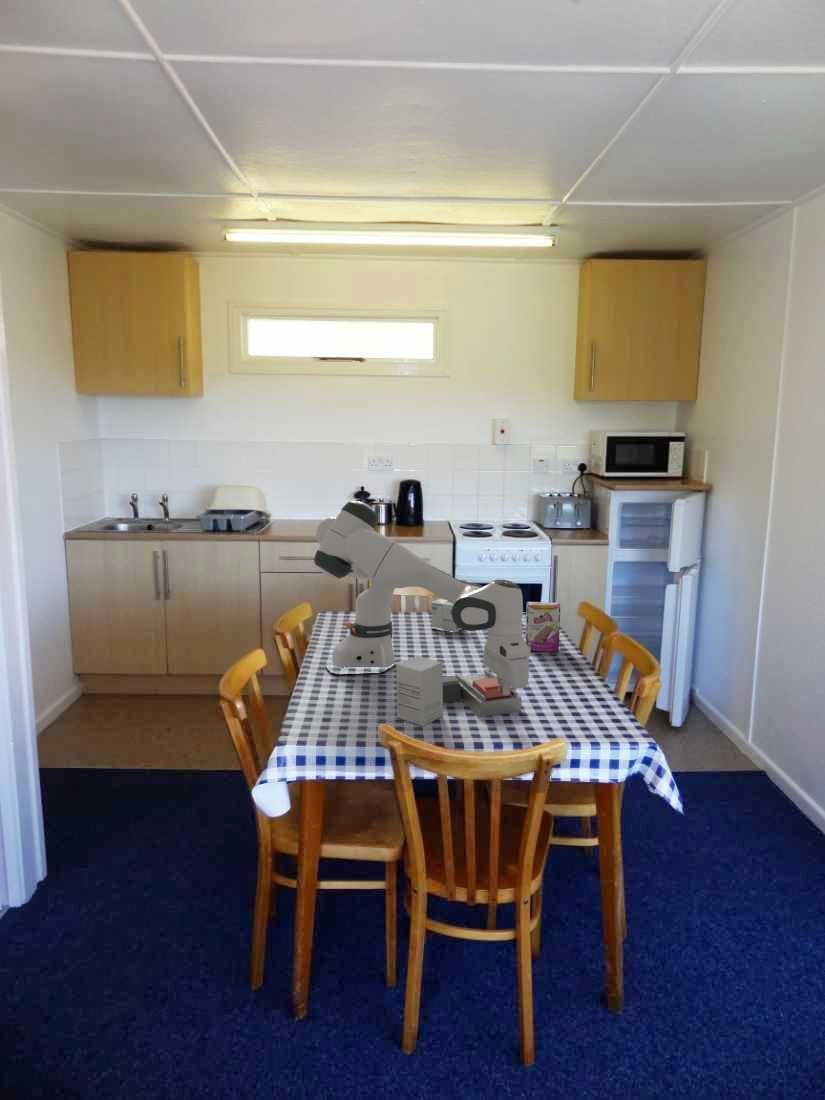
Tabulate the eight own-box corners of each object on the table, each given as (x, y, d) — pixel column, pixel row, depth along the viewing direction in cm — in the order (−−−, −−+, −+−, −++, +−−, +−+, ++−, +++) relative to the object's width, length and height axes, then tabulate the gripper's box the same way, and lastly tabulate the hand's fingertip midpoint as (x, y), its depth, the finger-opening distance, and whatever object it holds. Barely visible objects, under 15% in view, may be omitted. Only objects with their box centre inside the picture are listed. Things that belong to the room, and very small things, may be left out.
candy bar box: (525, 652, 255) (526, 604, 252) (525, 648, 260) (526, 601, 257) (559, 653, 254) (560, 605, 251) (558, 648, 258) (559, 602, 256)
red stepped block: (485, 698, 201) (485, 689, 200) (472, 687, 209) (472, 678, 209) (511, 695, 203) (511, 685, 203) (497, 684, 211) (497, 675, 211)
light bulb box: (464, 629, 283) (464, 601, 281) (455, 633, 277) (455, 605, 275) (439, 625, 289) (439, 598, 287) (430, 629, 283) (430, 601, 281)
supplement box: (417, 708, 206) (417, 655, 203) (443, 716, 200) (443, 661, 198) (395, 718, 199) (395, 663, 196) (422, 727, 193) (422, 670, 191)
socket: (479, 716, 199) (480, 698, 198) (451, 690, 219) (451, 673, 218) (521, 711, 203) (521, 692, 202) (489, 685, 223) (489, 668, 222)
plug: (440, 703, 209) (440, 683, 208) (434, 697, 214) (434, 677, 213) (460, 701, 211) (460, 680, 210) (453, 695, 216) (454, 675, 215)
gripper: (478, 633, 204) (477, 682, 206) (510, 654, 185) (509, 708, 187) (499, 631, 206) (498, 679, 208) (533, 652, 187) (532, 705, 189)
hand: (504, 693), depth 197 cm, fingers closed
